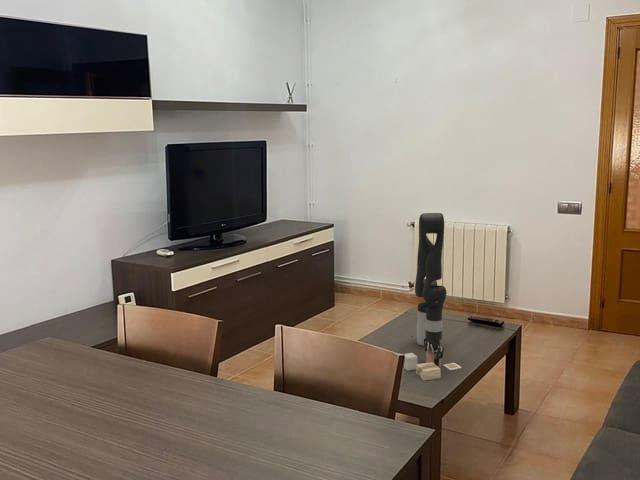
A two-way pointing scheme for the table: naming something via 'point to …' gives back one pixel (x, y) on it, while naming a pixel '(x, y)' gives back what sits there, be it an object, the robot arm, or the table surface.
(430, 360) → the terracotta block
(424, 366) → the birch base block
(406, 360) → the grey block
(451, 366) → the card
